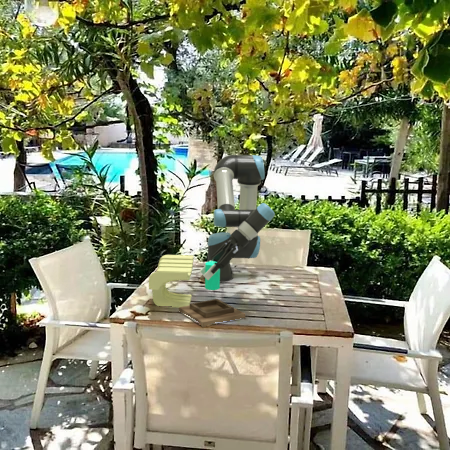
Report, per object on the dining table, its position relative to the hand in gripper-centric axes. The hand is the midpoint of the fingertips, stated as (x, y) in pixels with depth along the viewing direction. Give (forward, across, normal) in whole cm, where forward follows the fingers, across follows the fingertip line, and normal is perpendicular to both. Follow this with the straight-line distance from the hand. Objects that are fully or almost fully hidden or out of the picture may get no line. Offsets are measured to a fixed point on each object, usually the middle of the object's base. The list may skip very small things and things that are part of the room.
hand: (203, 275), depth 208 cm
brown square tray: (+10, 0, -14) cm, 17 cm away
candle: (+1, 0, -7) cm, 7 cm away
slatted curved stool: (+19, +20, -5) cm, 28 cm away
